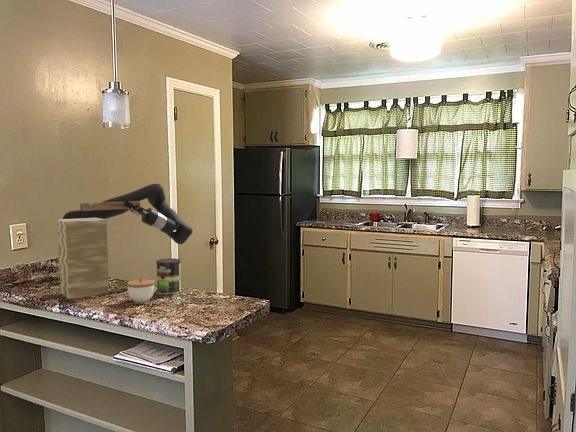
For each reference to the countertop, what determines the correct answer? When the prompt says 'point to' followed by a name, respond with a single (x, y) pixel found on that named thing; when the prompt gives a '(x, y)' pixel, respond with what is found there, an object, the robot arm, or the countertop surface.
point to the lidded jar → (141, 290)
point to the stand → (83, 257)
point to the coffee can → (168, 276)
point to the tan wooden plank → (105, 206)
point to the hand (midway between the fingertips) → (122, 202)
